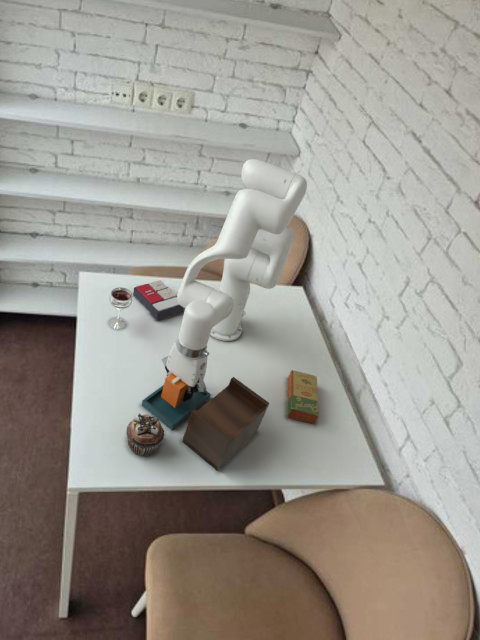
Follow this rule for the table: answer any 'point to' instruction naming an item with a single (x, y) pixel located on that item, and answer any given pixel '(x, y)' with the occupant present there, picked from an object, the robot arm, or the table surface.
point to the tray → (168, 412)
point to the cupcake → (144, 434)
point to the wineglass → (120, 304)
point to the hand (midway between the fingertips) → (178, 392)
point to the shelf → (225, 423)
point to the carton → (302, 397)
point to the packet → (173, 390)
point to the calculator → (158, 300)
